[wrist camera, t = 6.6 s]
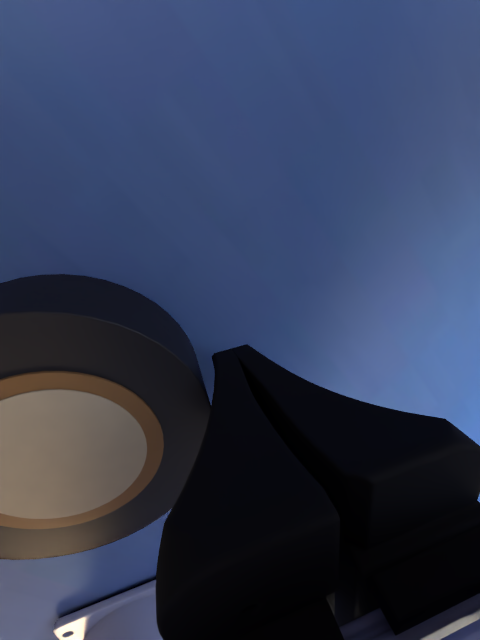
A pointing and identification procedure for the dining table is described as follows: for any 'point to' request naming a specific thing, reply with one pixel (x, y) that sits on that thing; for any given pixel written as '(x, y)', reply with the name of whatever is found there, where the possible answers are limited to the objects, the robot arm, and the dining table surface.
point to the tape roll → (91, 414)
